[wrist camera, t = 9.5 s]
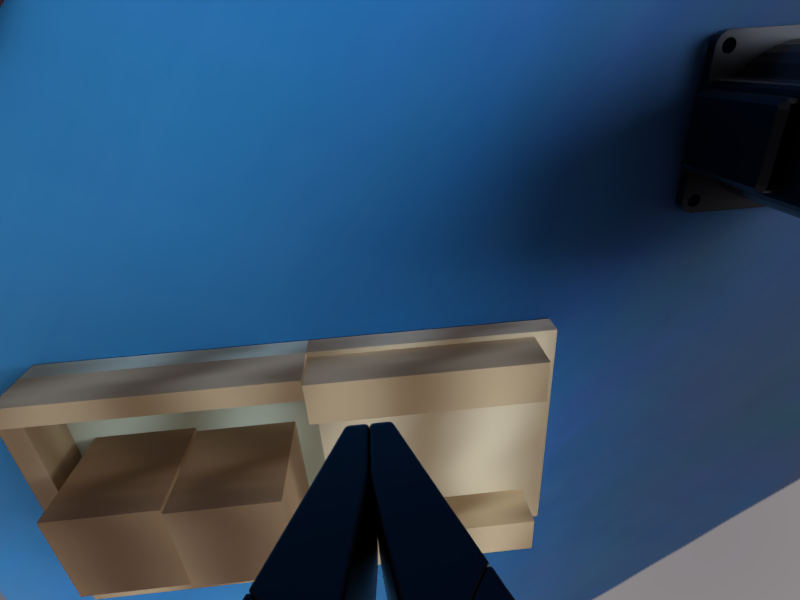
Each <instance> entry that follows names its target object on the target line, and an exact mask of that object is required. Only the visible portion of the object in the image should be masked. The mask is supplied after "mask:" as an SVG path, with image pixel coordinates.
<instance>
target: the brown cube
mask: <svg viewBox="0 0 800 600" xmlns="http://www.w3.org/2000/svg"><path fill="white" fill-rule="evenodd" d="M308 489H309V483H308V479H307V474H306V469H305V464H304V460H303V455H302V450H301V445H300V440H299V436H298V431H297V426H296V421H293V422H283V423H273V424H263V425H253V426H243V427H233V428H223V429H213V430H203V431H197V433H196V435H195V437H194V440H193V442H192V444H191V447H190V449H189V451H188V454H187V456H186V458H185V461H184V463H183V465H182V468H181V470H180V472H179V475H178V477H177V479H176V482H175V484H174V486H173V489H172V491H171V493H170V496H169V498H168V500H167V503H166V505H165V507H164V510H163V512H162V516H163V519H164V521H165V523H166V526H167V528H168V531H169V533H170V535H171V538H172V540H173V542H174V545H175V547H176V549H177V552H178V554H179V556H180V559H181V561H182V564H183V566H184V568H185V571H186V573H187V575H188V578H189V580H190V582H191V585H192V587H201V586H210V585H218V584H227V583H236V582H245V581H254V580H255V579H256V577H257V575H258V574H259V572H260V570H261V568H262V567H263V565H264V563H265V562H266V560H267V558H268V557H269V555H270V553H271V552H272V550H273V548H274V547H275V545H276V543H277V541H278V540H279V538H280V536H281V535H282V533H283V531H284V530H285V528H286V526H287V525H288V523H289V521H290V519H291V518H292V516H293V514H294V513H295V511H296V509H297V508H298V506H299V504H300V503H301V501H302V499H303V497H304V496H305V494H306V492H307V491H308Z"/></svg>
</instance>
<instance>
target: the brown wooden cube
mask: <svg viewBox="0 0 800 600" xmlns="http://www.w3.org/2000/svg"><path fill="white" fill-rule="evenodd" d="M196 433H197V429H196V428H187V429H177V430H167V431H157V432H147V433H136V434H126V435H116V436H106V437H96V438H95V439H94V441H93V442H92V444H91V445H90V447H89V448H88V450H87V451H86V452H85V454H84V455H83V457H82V458H81V460H80V461H79V463H78V464H77V465H76V467H75V468H74V470H73V471H72V473H71V474H70V476H69V477H68V479H67V480H66V481H65V483H64V484H63V486H62V487H61V489H60V490H59V492H58V493H57V495H56V496H55V497H54V499H53V500H52V502H51V503H50V505H49V506H48V508H47V509H46V511H45V512H44V513H43V515H42V516H41V518H40V519H39V521H38V522H37V525H38V527H39V528H40V530H41V532H42V533H43V535H44V536H45V538H46V540H47V541H48V543H49V545H50V546H51V548H52V550H53V551H54V553H55V555H56V556H57V558H58V560H59V561H60V563H61V565H62V566H63V568H64V569H65V571H66V573H67V574H68V576H69V578H70V579H71V581H72V583H73V584H74V586H75V588H76V589H77V591H78V593H79V594H80V596H81V597H83V596H92V595H101V594H110V593H119V592H128V591H137V590H146V589H154V588H163V587H172V586H181V585H190V584H191V582H190V580H189V578H188V575H187V573H186V571H185V568H184V566H183V564H182V561H181V559H180V556H179V554H178V552H177V549H176V547H175V545H174V542H173V540H172V538H171V535H170V533H169V531H168V528H167V526H166V523H165V521H164V519H163V516H162V512H163V510H164V507H165V505H166V503H167V500H168V498H169V496H170V493H171V491H172V489H173V486H174V484H175V482H176V479H177V477H178V475H179V472H180V470H181V468H182V465H183V463H184V461H185V458H186V456H187V454H188V451H189V449H190V447H191V444H192V442H193V440H194V437H195V435H196Z"/></svg>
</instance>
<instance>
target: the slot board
mask: <svg viewBox="0 0 800 600" xmlns="http://www.w3.org/2000/svg"><path fill="white" fill-rule="evenodd" d="M556 338H557V328H556V327H555V326H554V324H553V323H552V322H551V320H550V319H539V320H528V321H517V322H506V323H494V324H483V325H472V326H461V327H450V328H439V329H428V330H417V331H406V332H395V333H383V334H372V335H361V336H350V337H339V338H328V339H317V340H306V341H295V342H284V343H272V344H261V345H250V346H239V347H228V348H217V349H206V350H195V351H184V352H173V353H161V354H150V355H139V356H128V357H117V358H106V359H95V360H84V361H73V362H62V363H51V364H39V365H32V366H31V367H30V368H29V369H28V370H27V371H26V372H25V373H24V374H23V375H22V376H21V377H20V378H19V379H18V380H17V381H16V382H15V383H13V384H12V385H11V386H10V387H9V388H8V389H7V390H6V391H5V392H4V393H3V394H2V395H1V396H0V436H1V438H2V440H3V441H4V443H5V445H6V446H7V448H8V450H9V452H10V453H11V455H12V457H13V459H14V460H15V462H16V464H17V465H18V467H19V469H20V471H21V472H22V474H23V476H24V477H25V479H26V481H27V483H28V484H29V486H30V488H31V490H32V491H33V493H34V495H35V496H36V498H37V500H38V502H39V503H40V505H41V507H42V509H43V510H44V512H45V511H46V509H47V508H48V506H49V505H50V503H51V502H52V500H53V499H54V497H55V496H56V495H57V493H58V492H59V490H60V489H61V487H62V486H63V484H64V483H65V481H66V480H67V479H68V477H69V476H70V474H71V473H72V471H73V470H74V468H75V467H76V465H77V464H78V463H79V461H80V460H81V458H82V457H83V455H84V454H85V452H86V451H87V450H88V448H89V447H90V445H91V444H92V442H93V441H94V439H95V438H96V437H106V436H116V435H126V434H136V433H147V432H157V431H167V430H177V429H187V428H196V429H197V431H203V430H213V429H223V428H233V427H243V426H253V425H263V424H273V423H283V422H293V421H296V426H297V431H298V436H299V440H300V445H301V450H302V455H303V460H304V464H305V469H306V474H307V479H308V483H309V487H310V486H311V484H312V482H313V481H314V479H315V477H316V476H317V474H318V472H319V470H320V469H321V467H322V465H323V464H324V462H325V460H326V459H327V457H328V455H329V454H330V452H331V450H332V448H333V447H334V445H335V443H336V442H337V440H338V438H339V437H340V435H341V433H342V432H343V430H344V428H345V427H347V426H349V425H359V424H367V425H368V426H369V427H370V425H371V424H372V423H379V422H392V423H393V424H394V425H395V426H396V428H397V429H398V431H399V432H400V434H401V435H402V437H403V438H404V440H405V441H406V442H407V444H408V445H409V447H410V448H411V450H412V451H413V453H414V454H415V456H416V457H417V458H418V460H419V461H420V463H421V464H422V466H423V467H424V469H425V470H426V472H427V473H428V475H429V476H430V477H431V479H432V480H433V482H434V483H435V485H436V486H437V488H438V489H439V491H440V492H441V494H442V495H443V496H444V498H445V499H446V501H447V502H448V504H449V505H450V507H451V508H452V510H453V511H454V512H455V514H456V515H457V517H458V518H459V520H460V521H461V523H462V524H463V526H464V527H465V529H466V530H467V531H468V533H469V534H470V536H471V537H472V539H473V540H474V542H475V543H476V545H477V546H478V547H479V549H480V550H481V552H482V553H489V552H498V551H507V550H516V549H526V548H532V539H533V529H534V519H533V517H532V516H537V515H538V506H539V496H540V487H541V478H542V468H543V459H544V450H545V440H546V431H547V422H548V412H549V403H550V394H551V384H552V375H553V366H554V356H555V347H556ZM378 565H381V561H380V554H379V546H378ZM247 582H254V581H245V582H236V583H227V584H218V585H210V586H201V587H192V585H191V584H190V585H181V586H172V587H163V588H154V589H146V590H137V591H128V592H119V593H110V594H101V595H93V597H94V598H95V599H103V598H112V597H121V596H130V595H139V594H148V593H157V592H166V591H175V590H184V589H193V588H202V587H211V586H220V585H229V584H238V583H247Z"/></svg>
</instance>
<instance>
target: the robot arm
mask: <svg viewBox="0 0 800 600" xmlns="http://www.w3.org/2000/svg"><path fill="white" fill-rule="evenodd" d="M726 39H728V41H729V45H728V48H727V50H726V51H725V52H723V51H722V45H723V43H724V41H725V40H726ZM682 163H683V169H682V173H681V178H680V183H679V188H678V193H677V197H676V204H677V206H678V207H679V208H680V209H682V210H684V211H686V212H691V213H692V212H704V211H716V210H728V209H741V208H753V207H765V206H768V207H771V208H773V209H776V210H779V211H782V212H784V213H787V214H790V215H793V216H795V217H798V218H800V25H787V26H772V27H756V28H741V29H726V30H722V31H719V32H718V33H716V34H715V35H714V36H713V37H712V39H711V40H710V42H709V45H708V49H707V54H706V58H705V63H704V68H703V73H702V78H701V82H700V87H699V92H698V95H697V97H696V98H695V103H694V107H693V112H692V117H691V122H690V127H689V132H688V136H687V141H686V146H685V151H684V156H683V161H682ZM692 195H694V199H693V201H692V202H690V203H688V200H689V198H690V197H691V196H692ZM378 546H379V554H380V561H381V567H382V573H383V579H384V584H385V590H386V595H387V600H515V599H514V597H513V596H512V595H511V593H510V592H509V591H508V589H507V588H506V586H505V585H504V583H503V582H502V581H501V579H500V578H499V576H498V575H497V573H496V572H495V570H494V569H493V568H492V567H491V566H490V567H489V562H488V561H487V559H486V558H485V556H484V555H483V553H482V552H481V550H480V549H479V547H478V546H477V545H476V543H475V542H474V540H473V539H472V537H471V536H470V534H469V533H468V531H467V530H466V529H465V527H464V526H463V524H462V523H461V521H460V520H459V518H458V517H457V515H456V514H455V512H454V511H453V510H452V508H451V507H450V505H449V504H448V502H447V501H446V499H445V498H444V496H443V495H442V494H441V492H440V491H439V489H438V488H437V486H436V485H435V483H434V482H433V480H432V479H431V477H430V476H429V475H428V473H427V472H426V470H425V469H424V467H423V466H422V464H421V463H420V461H419V460H418V458H417V457H416V456H415V454H414V453H413V451H412V450H411V448H410V447H409V445H408V444H407V442H406V441H405V440H404V438H403V437H402V435H401V434H400V432H399V431H398V429H397V428H396V426H395V425H394V424H393V423H392V422H379V423H372V424H371V425H370V427H369V426H368V425H367V424H359V425H349V426H347V427H345V428H344V430H343V432H342V433H341V435H340V437H339V438H338V440H337V442H336V443H335V445H334V447H333V448H332V450H331V452H330V454H329V455H328V457H327V459H326V460H325V462H324V464H323V465H322V467H321V469H320V470H319V472H318V474H317V476H316V477H315V479H314V481H313V482H312V484H311V486H310V487H309V489H308V491H307V492H306V494H305V496H304V497H303V499H302V501H301V503H300V504H299V506H298V508H297V509H296V511H295V513H294V514H293V516H292V518H291V519H290V521H289V523H288V525H287V526H286V528H285V530H284V531H283V533H282V535H281V536H280V538H279V540H278V541H277V543H276V545H275V547H274V548H273V550H272V552H271V553H270V555H269V557H268V558H267V560H266V562H265V563H264V565H263V567H262V568H261V570H260V572H259V574H258V575H257V577H256V579H255V580H254V582H253V584H252V585H251V587H250V589H249V592H250V594H246V595H245V597H244V598H243V600H376V587H377V571H378Z"/></svg>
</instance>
